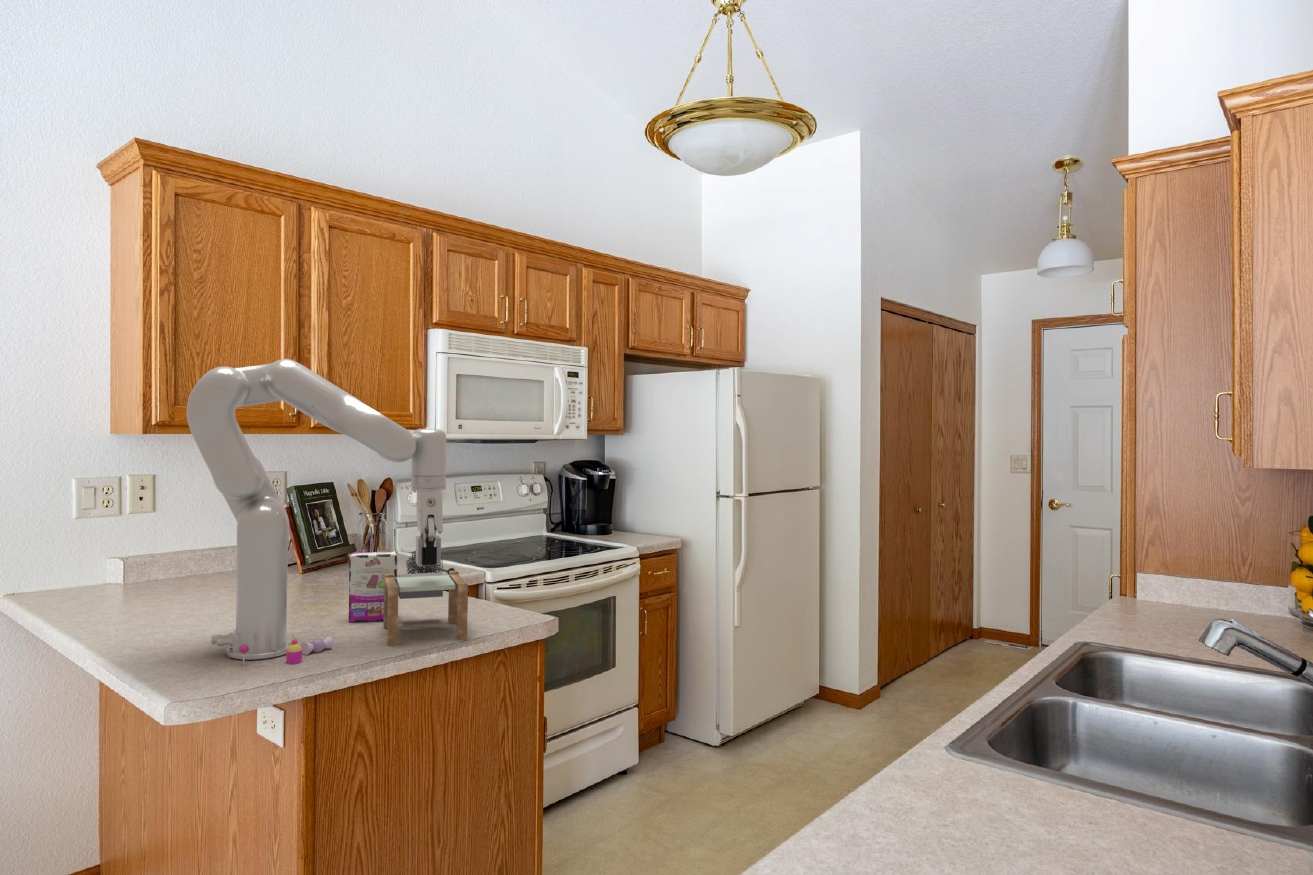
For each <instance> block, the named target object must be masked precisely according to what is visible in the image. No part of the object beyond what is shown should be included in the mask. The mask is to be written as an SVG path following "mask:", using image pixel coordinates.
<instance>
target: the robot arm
mask: <svg viewBox="0 0 1313 875" xmlns="http://www.w3.org/2000/svg"><path fill="white" fill-rule="evenodd" d="M281 401H282V402H284V403H285V404H287V405H289V406H291V407H292V408H294V409H296V410H298V411H300V412H301V413H303V414H305V415H306V416H308V417H310V418H311V419H313V420H315V421H317V422H318V423H320V424H321V425H323V426H324V427H326V428H329V429H330V430H332V431H334V432H337V433H339V434H343V435H345V436H347V437H349V438H352V439H353V440H354V441H357V442H359V443H360V444H362V445H364V446H366V447H367V448H368V449H370V450H372V451H373V452H375V453H377V454H378V456H380V457H381V458H382V459H384V460H386V461H388V462H389V461H390V462H393V463H399V464H400V463H404V462H407V461H408V460H410V459H411V491H416V525H417V530H418V532H419V534H420V535H419V536H423V547H422V565H433V566H434V565H436V564H437V547H436V536H437V533H438V534H439V535H441V534H443V533H444V524H443V522H444V521H443V518H444V517H443V495H442V491H445V490H446V488H447V486H446V484H447V483H446V482H447V481H446V480H447V434H446V432H445V431H444V430H443V429H436V428H419V429H406V428H405V427H403V426H402V425H400V424H399V423H397V422H396V421H394V420H392V419H390V418H389V417H387V416H385V415H384V414H382V413H381V412H378V411H377V410H375V409H374V408H372V407H370V406H369V405H367V404H365V403H364V402H362V401H361V400H360V399H358V398H357V397H356V396H353V395H352V394H350V393H349V392H347V391H345V390H344V389H342V388H340V387H339V386H338V385H335V383H334V384H333V383H332V382H331V381H329V380H328V379H326V378H324V377H323V376H321V375H319V374H317V373H316V372H314V371H313V370H311V369H310V368H308V367H306V366H304V365H303V364H302V363H299V362H298V361H295V360H294V359H290V358H283V359H278V360H275V361H274V362H271V363H266V364H265V363H264V364H258V365H251V366H243V367H242V366H241V367H231V366H217V367H215V368H212V369H210V370H209V371H206V373H205V374H204V375H202V376H201V378H199V380H198V381H197V382H196V383H195V385H194V386H193V388H192V390H191V391H190V394H189V396H188V399H187V403H186V404H187V405H186V420H187V424H188V427H189V430H190V433H191V436H192V438H193V439H194V441H195V444H196V446H197V448H198V450H199V452H200V454H201V456H202V459H203V461H204V463H205V464H206V467H207V468H208V470H209V472H210V474H211V477H212V480H213V483H214V485H215V488H216V489H217V490H218V491H219V493H221V494H222V496H223V498H224V499H225V502H226V504H227V505H228V507H229V509H230V511H231V513H232V515H233V516H234V519H235V521H236V522H237V524H236V602H235V603H236V604H235V605H236V608H235V610H236V611H235V612H236V613H235V616H236V619H235V628H234V631H231V632H229V633H228V634H212V636H211V642H210V643H211V646H212V645H216V647H222V646H228V648H227V649H226V655H227V656H228V657H229V658H232V659H235V660H236V659H237V660H243V653H241V652H240V651H239V647H240V646H241V645H242V644H247V645H248V647H249V650H248V651H247V652H246V653H245V661H246V660H247V661H253V660H265V659H271V658H277V657H281V656H284V655H286V653H287V648H288V646H289V645H290V644H292V643H291V641H292V639H287V626H288V624H287V623H288V622H287V621H288V618H287V617H288V567H289V566H288V565H289V564H288V562H289V561H288V560H289V558H288V556H289V555H288V553H289V540H290V539H289V538H290V519H289V516H288V513H287V511H286V508H285V507H284V505H283V504H282V501H281V500H280V498H279V496H278V493H277V491H276V490H275V487H274V486H273V484H272V481H271V480H270V478H269V475H268V474H267V472H266V469H265V468H264V466H263V464H262V462H261V460H260V459H258V458H257V457H256V456H255V454H254V453H253V451H252V449H251V447H250V445H249V443H248V442H247V440H246V438H245V436H244V433H243V431H242V428H241V426H240V425H239V422H238V421H237V417H236V409H237V408H243V407H250V406H256V405H263V404H269V403H271V404H272V403H275V402H281ZM427 536H428V537H427ZM426 537H427V538H426Z"/></svg>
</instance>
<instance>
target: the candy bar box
mask: <svg viewBox="0 0 1313 875" xmlns="http://www.w3.org/2000/svg"><path fill="white" fill-rule="evenodd" d="M398 555H399V552H398V551H375V552H374V551H373V552H371V551H370V552H351V553H350V555H349V558H348V561H349V562H348V569H349V570H348V623H367V622H369V623H370V622H384V574H394V579H395V577H399V574H398V572H399V571H398V570H399V568H398V567H399V565H398V564H399V563H398V562H399V561H398V560H399V559H398V558H399V557H398ZM396 584H397V583H396ZM397 586H398V585H397Z"/></svg>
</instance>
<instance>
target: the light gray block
mask: <svg viewBox="0 0 1313 875" xmlns="http://www.w3.org/2000/svg"><path fill="white" fill-rule="evenodd" d="M427 537H428V536H427ZM427 537H426V538H427ZM422 547H423V536H420V535H419V536H418V535H417V536H416V535H415V550H416V564H417V566H421V567H422V566H431V565H422ZM436 547H437V564H436V565H440V566H442V559H441V557H442V538H441V537H440V535H436Z"/></svg>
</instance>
